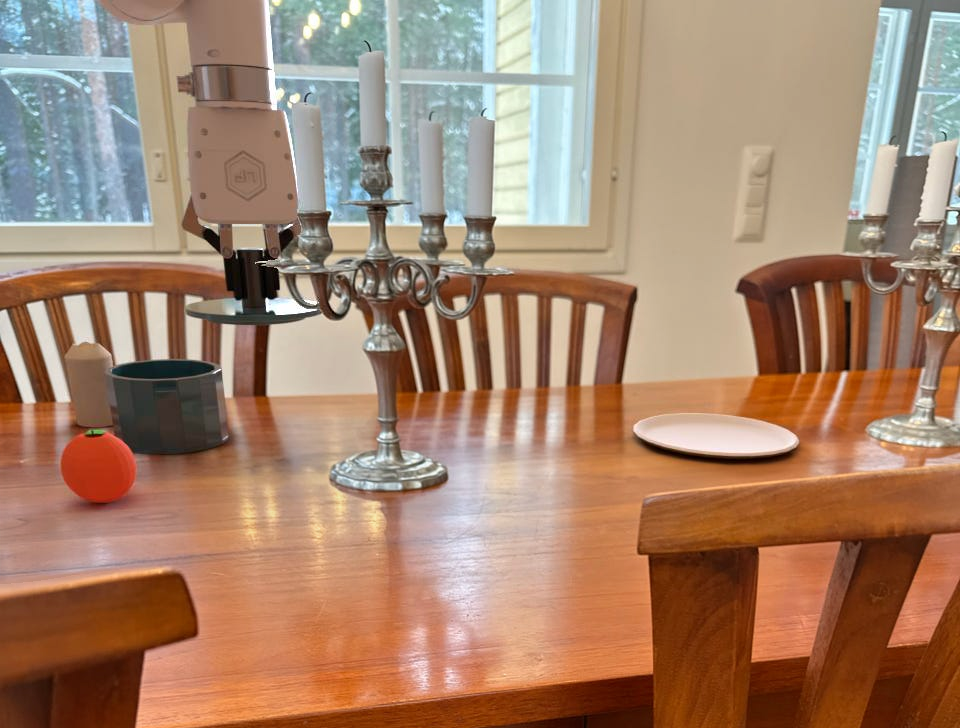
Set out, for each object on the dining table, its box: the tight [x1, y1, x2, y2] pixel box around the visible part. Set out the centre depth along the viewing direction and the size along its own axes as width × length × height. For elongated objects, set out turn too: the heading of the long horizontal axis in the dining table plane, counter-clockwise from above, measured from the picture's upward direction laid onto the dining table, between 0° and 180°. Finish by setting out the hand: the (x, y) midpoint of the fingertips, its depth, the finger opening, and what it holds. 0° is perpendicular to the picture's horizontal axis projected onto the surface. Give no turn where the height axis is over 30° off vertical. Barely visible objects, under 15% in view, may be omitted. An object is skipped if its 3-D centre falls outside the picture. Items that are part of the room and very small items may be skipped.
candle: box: [63, 341, 114, 428], centre depth 115 cm, size 6×6×10 cm
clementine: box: [60, 429, 138, 504], centre depth 88 cm, size 8×7×7 cm
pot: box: [104, 358, 230, 455], centre depth 108 cm, size 13×19×8 cm
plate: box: [632, 412, 800, 460], centre depth 115 cm, size 21×21×1 cm
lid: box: [183, 247, 323, 326], centre depth 93 cm, size 14×14×7 cm
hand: (254, 296), depth 93 cm, fingers closed on lid, 2 cm apart
